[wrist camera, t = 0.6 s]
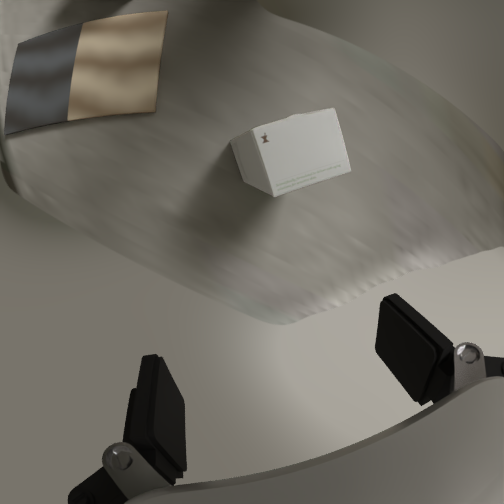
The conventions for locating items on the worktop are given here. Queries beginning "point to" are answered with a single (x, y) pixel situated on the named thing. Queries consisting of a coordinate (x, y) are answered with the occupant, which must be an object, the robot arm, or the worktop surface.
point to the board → (87, 71)
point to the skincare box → (292, 152)
